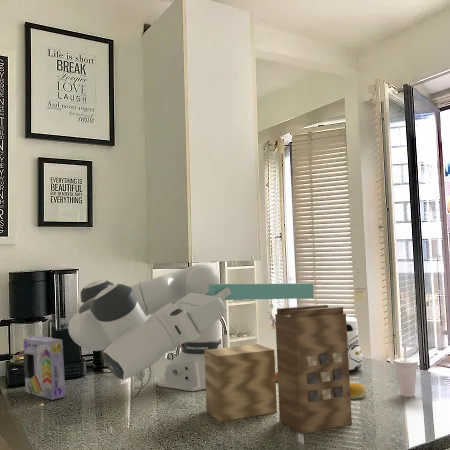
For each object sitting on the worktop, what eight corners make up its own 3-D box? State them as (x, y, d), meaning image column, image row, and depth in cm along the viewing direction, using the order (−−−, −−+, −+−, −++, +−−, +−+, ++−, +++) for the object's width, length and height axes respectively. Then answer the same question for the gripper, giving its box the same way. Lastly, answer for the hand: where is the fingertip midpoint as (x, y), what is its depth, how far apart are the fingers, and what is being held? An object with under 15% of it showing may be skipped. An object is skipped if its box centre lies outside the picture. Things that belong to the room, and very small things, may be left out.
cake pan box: (22, 391, 153) (21, 336, 155) (37, 388, 157) (36, 334, 158) (50, 402, 140) (50, 341, 142) (66, 398, 144) (65, 339, 145)
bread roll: (356, 402, 130) (355, 387, 131) (329, 395, 137) (329, 381, 137) (373, 395, 136) (372, 381, 136) (346, 390, 143) (345, 376, 143)
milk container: (369, 375, 159) (366, 321, 160) (317, 376, 159) (314, 322, 160) (355, 364, 176) (353, 315, 177) (309, 365, 176) (306, 316, 178)
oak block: (220, 421, 117) (217, 356, 119) (206, 410, 126) (204, 349, 128) (277, 412, 123) (274, 349, 125) (260, 402, 133) (257, 344, 134)
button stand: (302, 434, 107) (296, 311, 109) (279, 420, 116) (274, 308, 119) (353, 424, 112) (347, 307, 114) (327, 412, 122) (322, 304, 124)
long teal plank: (213, 300, 105) (213, 284, 106) (208, 299, 109) (208, 283, 109) (313, 298, 115) (313, 283, 115) (305, 297, 118) (305, 283, 119)
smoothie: (420, 393, 136) (417, 343, 137) (419, 399, 130) (415, 347, 131) (396, 391, 139) (393, 342, 140) (394, 397, 133) (391, 346, 134)
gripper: (169, 330, 113) (215, 298, 118) (196, 342, 95) (249, 304, 100) (156, 307, 113) (202, 276, 118) (180, 315, 94) (235, 278, 99)
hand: (224, 289), depth 108 cm, fingers closed on long teal plank, 3 cm apart
